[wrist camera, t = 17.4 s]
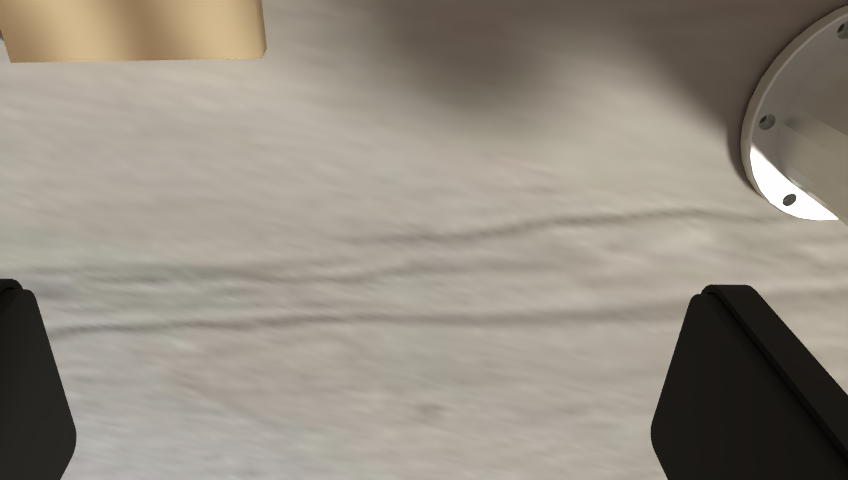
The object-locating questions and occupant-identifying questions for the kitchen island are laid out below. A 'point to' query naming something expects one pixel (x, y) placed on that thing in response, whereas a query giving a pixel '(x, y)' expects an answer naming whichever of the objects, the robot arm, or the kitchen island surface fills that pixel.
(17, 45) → the board
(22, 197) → the kitchen island surface
